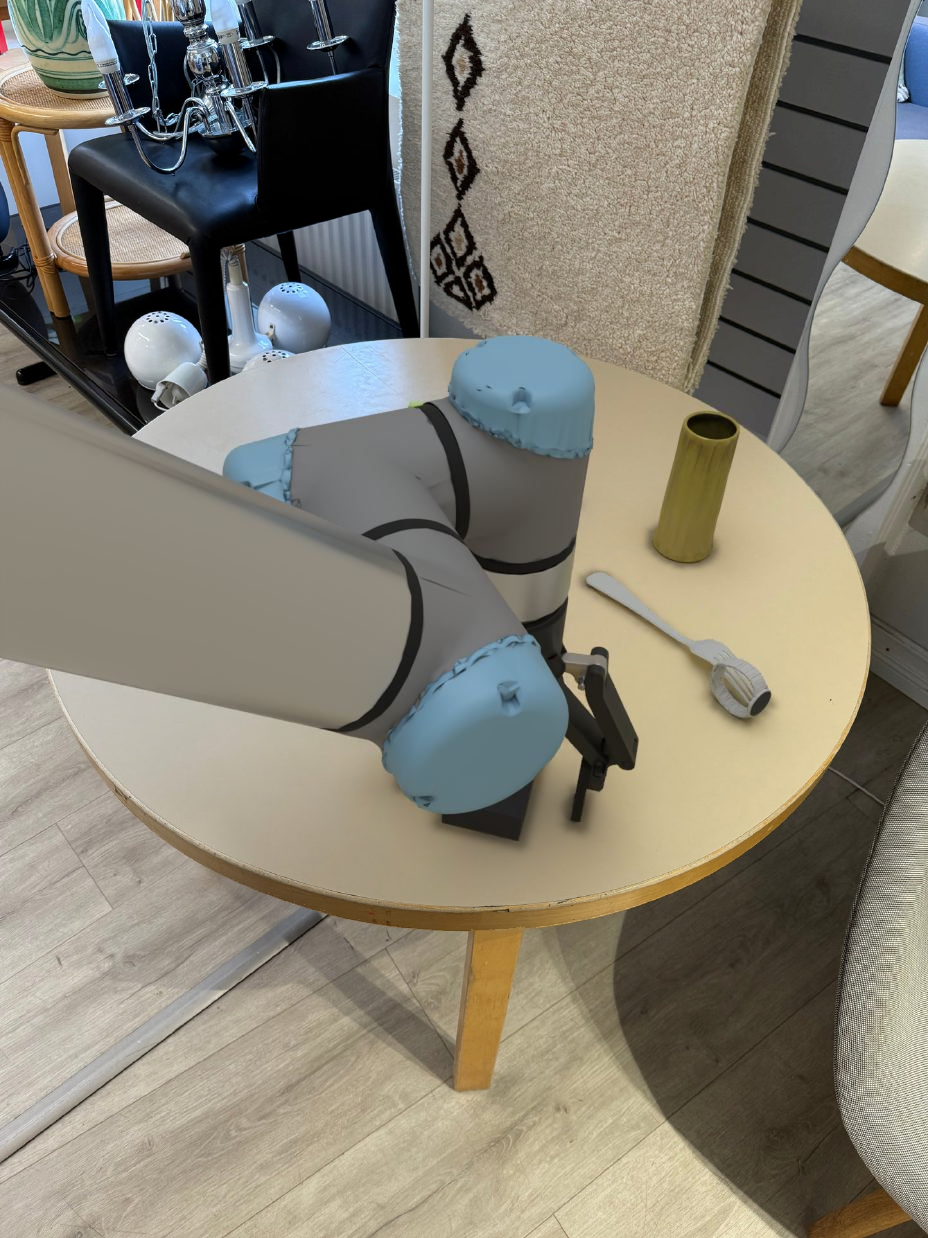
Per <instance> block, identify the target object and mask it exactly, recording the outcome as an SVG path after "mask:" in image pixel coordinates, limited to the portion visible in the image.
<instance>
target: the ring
mask: <svg viewBox="0 0 928 1238" xmlns="http://www.w3.org/2000/svg"><path fill="white" fill-rule="evenodd" d="M726 667H730V668H731V669H733V668H734V669H735V670H737V671H739V672H740V673H741V674H742V675H743V676H744V677H745V679H746V680H747V681H748V682H749V684H750V685H751V687H752V688H753V690H754V691H753V693H752V699H751V698H750V700H749V702H750V703H749V704H747V707H745V705H742V704H741V703H739V701H737V700H736V699H735V698H734V697H733V695H732V694H731V693H730V692H729V690H728V689H727V687H726V686H725V684H724V683H725V682H724V681H723V673H725V671H726V672H727V670H726ZM734 669H733V670H734ZM709 687H710V689H711V692H712V693H713V695H714V697H715V698H716V699H717V701H718V703H719V704H720V705H721V706H722V707H723V709H725V710H726V711H727V712H728V713H729V714H731V715H732V716H735V717H737V718H742V719H746V718H748V719H750V718H752V717H756V716H758V715H759V714H760V713H762V711H763V710H764V709H765V708H766V707H767V706H768V704H769V703H770V700H771V698H772V691H771V689H769V685H768V684H767V683H766V679H765V677H764V676H763V674H762V672H760V670H759V669H758V668H757V666H755V665H753V664H752V663H750V662H749V661H748V660H744V658H743V659H742V658H738V657H737V658H735V657H729V656H728V657H727V658H725V659H723V660H722V661H721V662H718V663H717V664H716V665H714V666H713V667H712V668H711V672H710V676H709Z"/></svg>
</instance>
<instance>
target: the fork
mask: <svg viewBox="0 0 928 1238" xmlns="http://www.w3.org/2000/svg"><path fill="white" fill-rule="evenodd" d="M585 582H586V584H587V585H588V586H591V587H592V588H594V589H596V590H597V591H599V592H601V593H603V594H604V595H606V596H609V598H611V599H613V600H614V601H616V602H618V603H620V604H622V605H623V606H625V607H627V608H628V609H630V610H631V611H633V612H634V613H636V614H637V615H639V616H641V617H642V618H644V619H646V620H647V621H649V622H650V623H651V624H653V625H654V626H655V627H657V628H658V629H660V630H661V631H662V632H664V633H666V635H668V636H670V637H672V638H673V639H675V640H676V641H678V642H679V643H681V644H684V645H686V646H688V648H689V649H690V650H689V651H690V652H691V653H692V654H693V655H696V656H698V657H699V658H702V659H704V660H705V661H706V662H708V663H710V664H711V665H712V666H713V667H714V665H716V664H717V663H719V662H721V661H722V660H724V659H725V658H727V657H735V658H738V657H737V655H735V653H733V651H732V650H731V648H729V647H728V646H727V645H726V644H724V643H722V642H721V641H718V640H715V639H713V638H712V639H711V638H710V639H709V638H707V639H701V640H694V639H691V638H688V637H686V636H685V635H683V634H681V633H680V632H678V631H677V630H676V629H674V628H673V627H672V626H670V625H669V624H668V623H667V622H665V621H664V620H663V619H662V618H660V617H659V616H657V615H656V614H655V613H654V612H653V611H652V610H651V609H649V608H648V607H647V606H646V605H645V604H644V603H643V602H641V600H639V599H638V598H637V597H636V595H634V594H633V593H632V592H631V591H630V590H629V589H628V588H627V587H625V585H623V584H622V583H621V582H620V581H618V580H617V579H616V578H615V577H613V576H611V575H610V574H607V573H606V572H600V571H599V572H593V573H592V574H591V575H588V576H587V577H586V578H585ZM722 677H724V678H725V679H726V680H727V682H728V683H729V684H730V685H731V686H732V687H733V688H734V689H735V691H736V692H737V693H738V694H739V695H740V696H741V697H742V698H743V700H744V701H745V702H746V703H747V705H749V703H750V700H751V699H752V696H753V691H754V689H753V687H752V685H751V683H750V682H749V680H748V679H747V678H746V677H745V676H744V675H743V674H741V673H740V672H739V671H737V670H735V669H734V668H730V667H726V671H725V673H723V675H722ZM736 682H737V683H736ZM745 685H746V686H745ZM741 689H742V690H743V691H744V692H743V691H742V690H741ZM749 690H750V691H749ZM750 692H751V693H752V694H751V693H750ZM745 693H746V695H747V696H748V697H749V698H750V700H749V699H748V698H747V696H746V695H745Z"/></svg>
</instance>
